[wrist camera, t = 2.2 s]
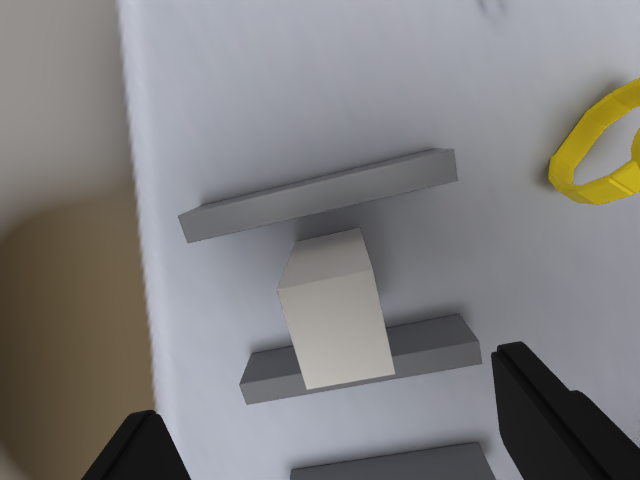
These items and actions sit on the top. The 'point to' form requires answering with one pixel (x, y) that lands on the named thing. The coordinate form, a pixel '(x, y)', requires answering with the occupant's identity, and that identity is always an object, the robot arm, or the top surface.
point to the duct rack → (404, 341)
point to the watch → (586, 132)
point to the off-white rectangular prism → (334, 311)
